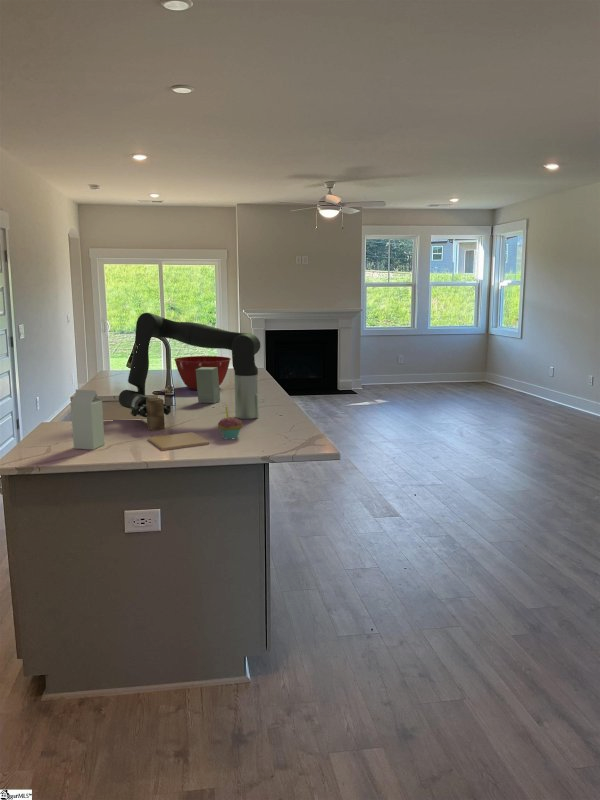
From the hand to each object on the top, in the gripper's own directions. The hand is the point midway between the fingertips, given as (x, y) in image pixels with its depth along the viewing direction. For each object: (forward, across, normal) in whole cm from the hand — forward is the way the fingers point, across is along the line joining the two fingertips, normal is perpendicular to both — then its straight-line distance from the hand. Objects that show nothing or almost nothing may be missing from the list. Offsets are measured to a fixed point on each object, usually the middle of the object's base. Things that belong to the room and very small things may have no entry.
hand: (156, 413), depth 227 cm
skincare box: (-40, +36, +6) cm, 55 cm away
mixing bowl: (-78, +49, +6) cm, 92 cm away
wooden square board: (+22, 0, +6) cm, 23 cm away
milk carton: (+13, -27, +6) cm, 31 cm away
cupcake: (+25, +18, +6) cm, 32 cm away
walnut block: (-1, 0, +6) cm, 6 cm away
